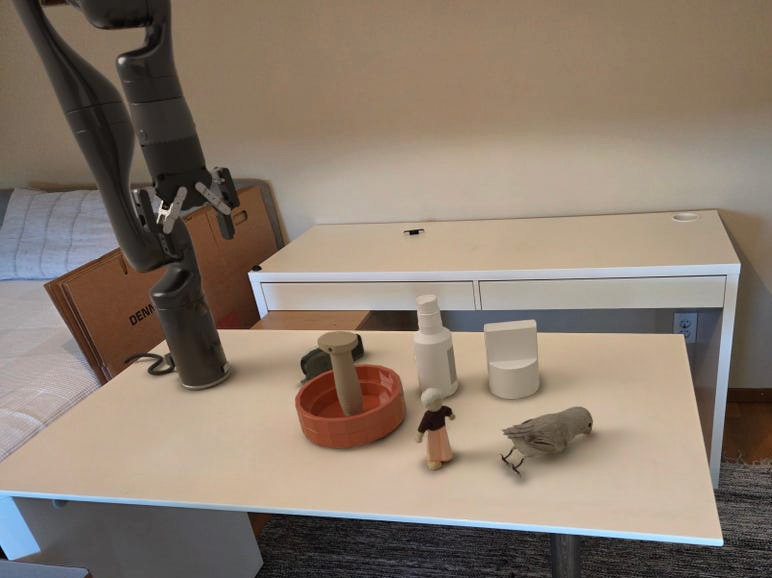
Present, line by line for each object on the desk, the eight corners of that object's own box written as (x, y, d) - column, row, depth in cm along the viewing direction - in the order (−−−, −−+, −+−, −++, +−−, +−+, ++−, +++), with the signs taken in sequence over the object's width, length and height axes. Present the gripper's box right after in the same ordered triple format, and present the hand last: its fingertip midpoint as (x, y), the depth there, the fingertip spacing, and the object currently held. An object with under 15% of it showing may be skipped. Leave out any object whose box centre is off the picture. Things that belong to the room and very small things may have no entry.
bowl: (282, 430, 108) (273, 400, 105) (359, 383, 120) (353, 355, 117) (350, 465, 98) (342, 433, 95) (427, 410, 109) (423, 380, 106)
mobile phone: (355, 330, 129) (290, 358, 120) (364, 334, 127) (298, 362, 118) (359, 352, 131) (295, 381, 122) (367, 356, 129) (303, 386, 120)
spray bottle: (466, 386, 115) (455, 295, 106) (438, 403, 111) (425, 310, 102) (440, 375, 119) (427, 287, 110) (413, 391, 115) (398, 301, 106)
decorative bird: (602, 441, 97) (602, 400, 94) (516, 483, 91) (512, 441, 87) (579, 425, 101) (579, 385, 98) (495, 464, 95) (491, 423, 91)
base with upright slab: (536, 370, 118) (533, 312, 112) (542, 396, 110) (539, 335, 104) (488, 375, 118) (482, 316, 112) (490, 401, 110) (484, 340, 104)
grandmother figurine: (437, 477, 93) (426, 405, 87) (417, 470, 95) (404, 399, 89) (466, 448, 99) (457, 378, 93) (446, 442, 101) (436, 373, 95)
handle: (364, 426, 105) (346, 347, 98) (331, 421, 107) (311, 343, 100) (377, 410, 109) (362, 333, 102) (345, 406, 111) (328, 329, 104)
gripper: (200, 124, 94) (231, 230, 102) (103, 144, 84) (145, 259, 92) (228, 125, 89) (258, 236, 97) (128, 146, 80) (170, 267, 88)
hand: (203, 247), depth 95 cm, fingers open, 8 cm apart
